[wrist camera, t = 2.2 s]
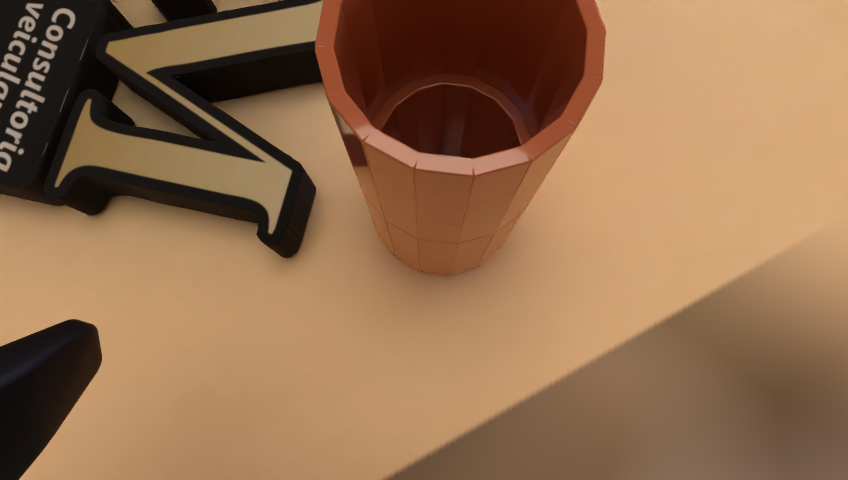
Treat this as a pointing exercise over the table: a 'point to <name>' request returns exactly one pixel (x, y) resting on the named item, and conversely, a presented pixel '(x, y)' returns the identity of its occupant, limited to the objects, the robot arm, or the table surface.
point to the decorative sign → (164, 88)
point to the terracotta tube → (456, 112)
